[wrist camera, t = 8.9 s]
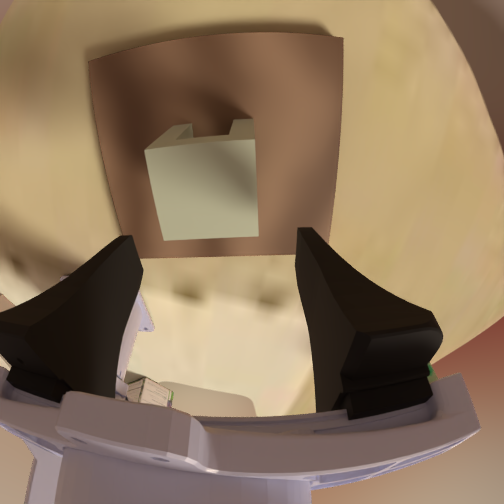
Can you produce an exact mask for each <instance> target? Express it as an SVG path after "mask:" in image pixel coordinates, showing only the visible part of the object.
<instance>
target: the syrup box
mask: <svg viewBox="0 0 504 504" xmlns="http://www.w3.org/2000/svg"><path fill="white" fill-rule="evenodd" d="M128 385H129V386H128V390H127V394H126V395H129V396H130V397H131V398H132V399H133V402H140V403H148V404H155V405H160V406H165V407H170V408H171V406H172V400H173V394H174V393H173V391H171V390H169V389H167V388H165V387H163V386H161V385H160V384H158V383H156V382H154V381H152V380H150V379H148V378H146V377H145V378H142V379H140V380H137V381H135V382H132V383H129V384H128Z"/></svg>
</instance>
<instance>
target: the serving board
mask: <svg viewBox="0 0 504 504" xmlns="http://www.w3.org/2000/svg"><path fill="white" fill-rule="evenodd" d="M88 64H89V74H90V84H91V92H92V99H93V106H94V113H95V119H96V125H97V131H98V136H99V141H100V146H101V151H102V156H103V161H104V165H105V170H106V174H107V178H108V182H109V186H110V190H111V194H112V198H113V202H114V206H115V209H116V213H117V216H118V220H119V223H120V227H121V230H122V233H123V235H132V236H133V239H134V243H135V246H136V249H137V252H138V255H139V258H140V259H143V258H183V257H222V256H258V255H293V254H296V243H297V227H312V228H313V229H314V230H315V231H316V232H317V233H318V234H319V235H320V236H321V237H322V238H323V239H324V240H325V242H326V243H327V244H328V243H329V236H330V229H331V222H332V214H333V206H334V198H335V189H336V179H337V169H338V158H339V146H340V132H341V116H342V95H343V38H342V37H334V36H325V35H315V34H303V33H282V32H249V33H228V34H216V35H206V36H197V37H189V38H183V39H176V40H170V41H165V42H159V43H154V44H150V45H145V46H141V47H136V48H132V49H128V50H125V51H121V52H117V53H114V54H110V55H107V56H104V57H101V58H97V59H94V60H91V61H88ZM235 119H254V133H255V153H256V177H257V202H258V229H259V236H256V237H231V238H209V239H188V240H168V241H164V239H163V235H162V231H161V227H160V223H159V219H158V215H157V210H156V206H155V201H154V197H153V192H152V187H151V183H150V178H149V173H148V168H147V162H146V157H145V152H144V150H145V149H146V148H147V147H148V146H149V145H150V144H152V143H153V142H154V141H155V140H156V139H158V138H159V137H160V136H161V135H162V134H164V133H165V132H166V131H167V130H168V129H170V128H171V127H172V126H174V125H182V124H190V123H192V129H193V138H197V137H207V136H219V135H229V133H230V130H231V126H232V123H233V120H235Z"/></svg>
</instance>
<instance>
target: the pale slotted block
mask: <svg viewBox="0 0 504 504" xmlns="http://www.w3.org/2000/svg"><path fill="white" fill-rule="evenodd" d="M144 152H145V157H146V162H147V168H148V173H149V178H150V183H151V187H152V192H153V197H154V201H155V206H156V210H157V215H158V219H159V223H160V227H161V231H162V235H163V239H164V241H168V240H188V239H209V238H231V237H256V236H259V229H258V202H257V177H256V153H255V133H254V119H235V120H233V123H232V126H231V130H230V133H229V135H219V136H207V137H197V138H193V129H192V123H190V124H182V125H174V126H172V127H171V128H170V129H168V130H167V131H166V132H165V133H164V134H162V135H161V136H160V137H159V138H158V139H156V140H155V141H154V142H153V143H152V144H150V145H149V146H148V147H147V148H146V149H145V150H144Z"/></svg>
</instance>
